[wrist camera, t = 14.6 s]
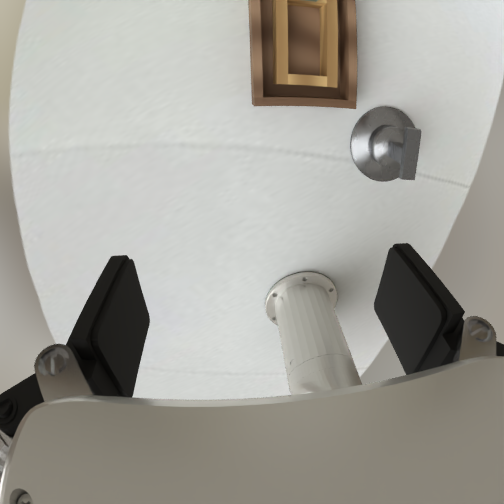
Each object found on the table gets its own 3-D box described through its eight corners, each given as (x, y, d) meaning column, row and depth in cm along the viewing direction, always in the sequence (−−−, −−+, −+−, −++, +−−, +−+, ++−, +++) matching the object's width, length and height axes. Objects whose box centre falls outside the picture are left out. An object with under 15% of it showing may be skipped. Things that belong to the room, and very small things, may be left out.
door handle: (411, 181, 40) (436, 200, 34) (347, 180, 39) (367, 199, 33) (419, 112, 34) (449, 121, 28) (352, 102, 33) (376, 109, 27)
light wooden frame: (328, 1, 25) (341, -7, 21) (329, 86, 32) (341, 88, 28) (271, -5, 25) (277, -15, 21) (273, 83, 31) (279, 84, 27)
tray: (345, 105, 33) (356, 109, 30) (252, 103, 33) (254, 106, 30) (343, -11, 24) (353, -18, 21) (247, -19, 24) (249, -28, 21)
